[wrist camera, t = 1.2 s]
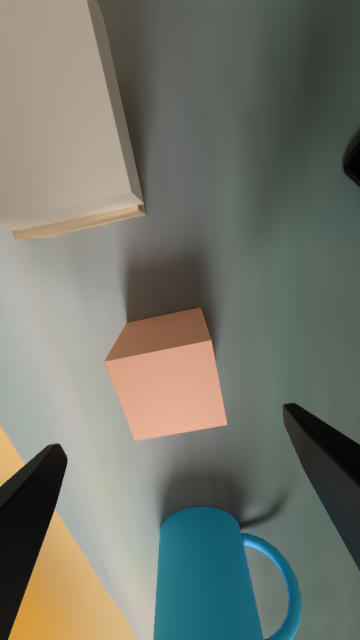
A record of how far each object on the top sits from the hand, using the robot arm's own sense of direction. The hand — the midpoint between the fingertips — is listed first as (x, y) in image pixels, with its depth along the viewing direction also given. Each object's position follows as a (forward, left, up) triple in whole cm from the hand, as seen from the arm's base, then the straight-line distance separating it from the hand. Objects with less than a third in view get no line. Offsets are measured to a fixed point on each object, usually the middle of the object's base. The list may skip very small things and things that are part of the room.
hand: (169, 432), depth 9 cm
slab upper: (-7, -10, -5) cm, 13 cm away
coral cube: (0, 0, -7) cm, 7 cm away
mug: (+15, +15, -8) cm, 23 cm away
